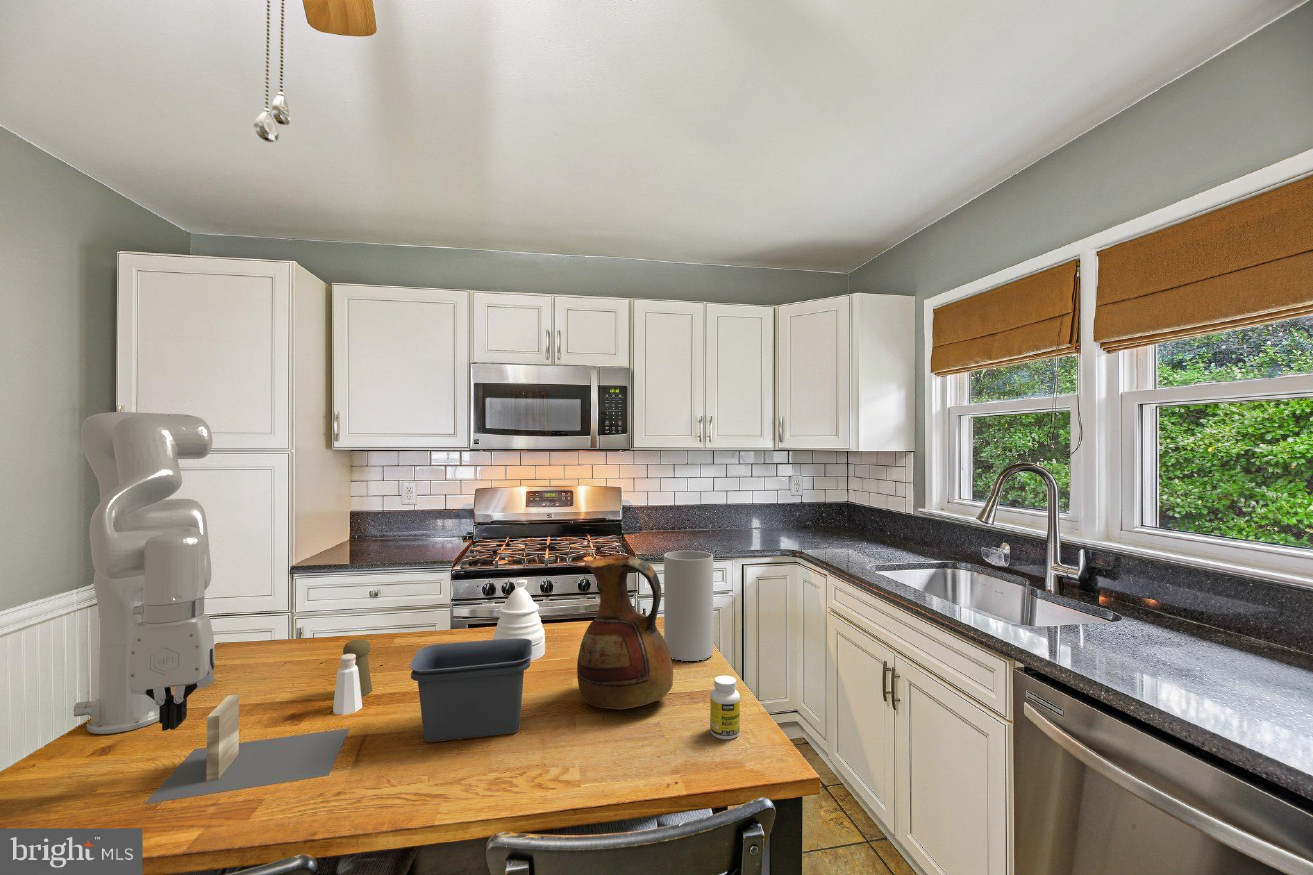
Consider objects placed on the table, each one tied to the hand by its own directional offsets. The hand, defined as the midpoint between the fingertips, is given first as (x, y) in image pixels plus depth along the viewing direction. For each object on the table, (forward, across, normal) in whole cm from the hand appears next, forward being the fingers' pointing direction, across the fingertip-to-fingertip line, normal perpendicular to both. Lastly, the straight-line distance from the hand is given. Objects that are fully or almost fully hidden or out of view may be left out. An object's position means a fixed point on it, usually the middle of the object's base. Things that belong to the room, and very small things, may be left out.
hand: (173, 725), depth 91 cm
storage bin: (+8, +46, +3) cm, 47 cm away
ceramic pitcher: (+8, +76, +5) cm, 76 cm away
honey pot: (+8, +57, +39) cm, 69 cm away
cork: (+8, +22, +26) cm, 35 cm away
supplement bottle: (+8, +90, -14) cm, 91 cm away
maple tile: (+8, +7, 0) cm, 10 cm away
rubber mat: (+8, +12, 0) cm, 14 cm away
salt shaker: (+8, +22, +17) cm, 29 cm away
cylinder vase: (+8, +98, +26) cm, 101 cm away
